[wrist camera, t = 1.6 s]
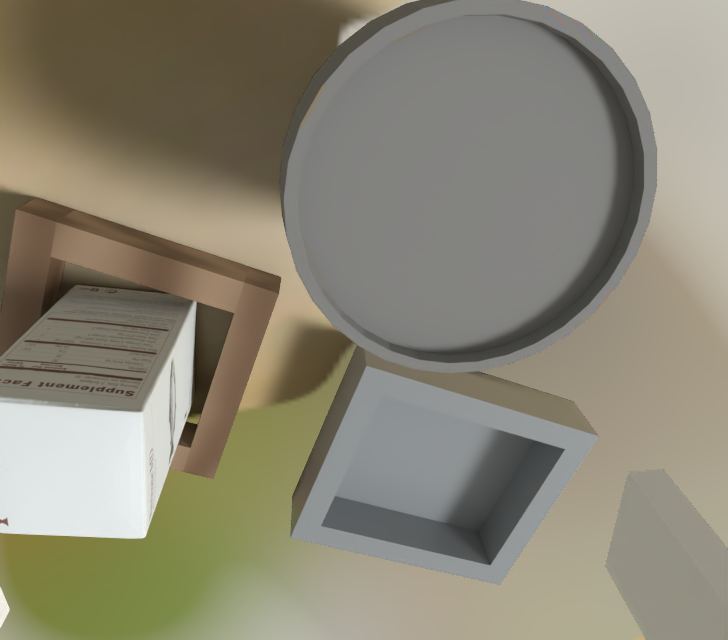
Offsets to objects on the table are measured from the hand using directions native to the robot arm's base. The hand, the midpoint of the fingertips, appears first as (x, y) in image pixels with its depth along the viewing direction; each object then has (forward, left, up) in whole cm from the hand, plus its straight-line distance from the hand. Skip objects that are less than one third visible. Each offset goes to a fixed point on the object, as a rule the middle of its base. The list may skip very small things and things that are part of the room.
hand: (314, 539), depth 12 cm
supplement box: (-8, -11, -24) cm, 28 cm away
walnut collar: (-8, -11, -24) cm, 27 cm away
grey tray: (+13, -13, -24) cm, 30 cm away
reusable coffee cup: (+3, +6, -24) cm, 25 cm away
